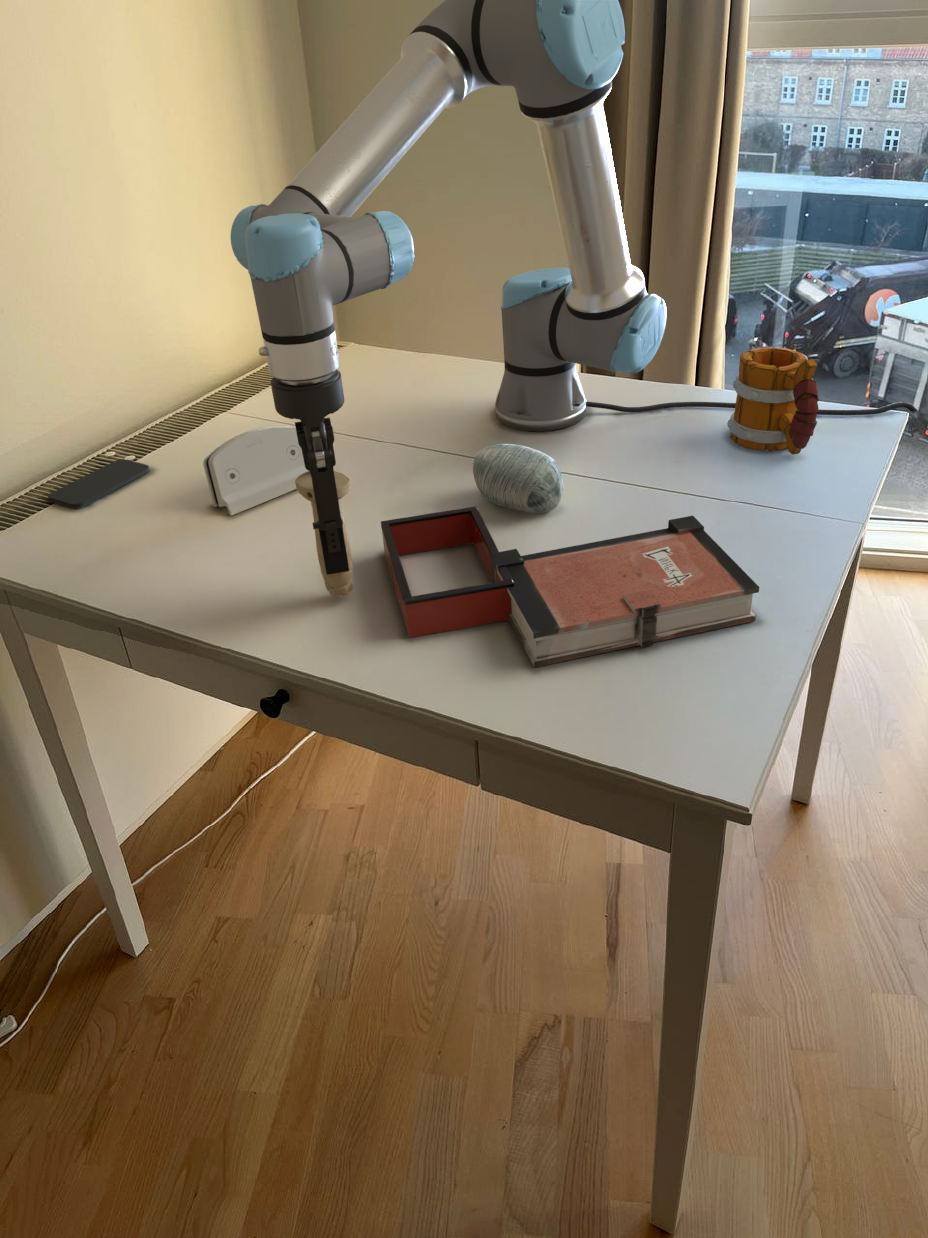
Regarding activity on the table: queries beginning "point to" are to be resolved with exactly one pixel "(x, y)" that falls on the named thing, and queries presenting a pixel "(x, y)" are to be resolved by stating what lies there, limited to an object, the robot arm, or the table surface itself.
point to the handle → (334, 582)
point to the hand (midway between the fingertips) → (335, 561)
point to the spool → (518, 478)
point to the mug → (774, 400)
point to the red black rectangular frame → (447, 605)
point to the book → (623, 592)
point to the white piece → (254, 468)
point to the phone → (98, 483)
